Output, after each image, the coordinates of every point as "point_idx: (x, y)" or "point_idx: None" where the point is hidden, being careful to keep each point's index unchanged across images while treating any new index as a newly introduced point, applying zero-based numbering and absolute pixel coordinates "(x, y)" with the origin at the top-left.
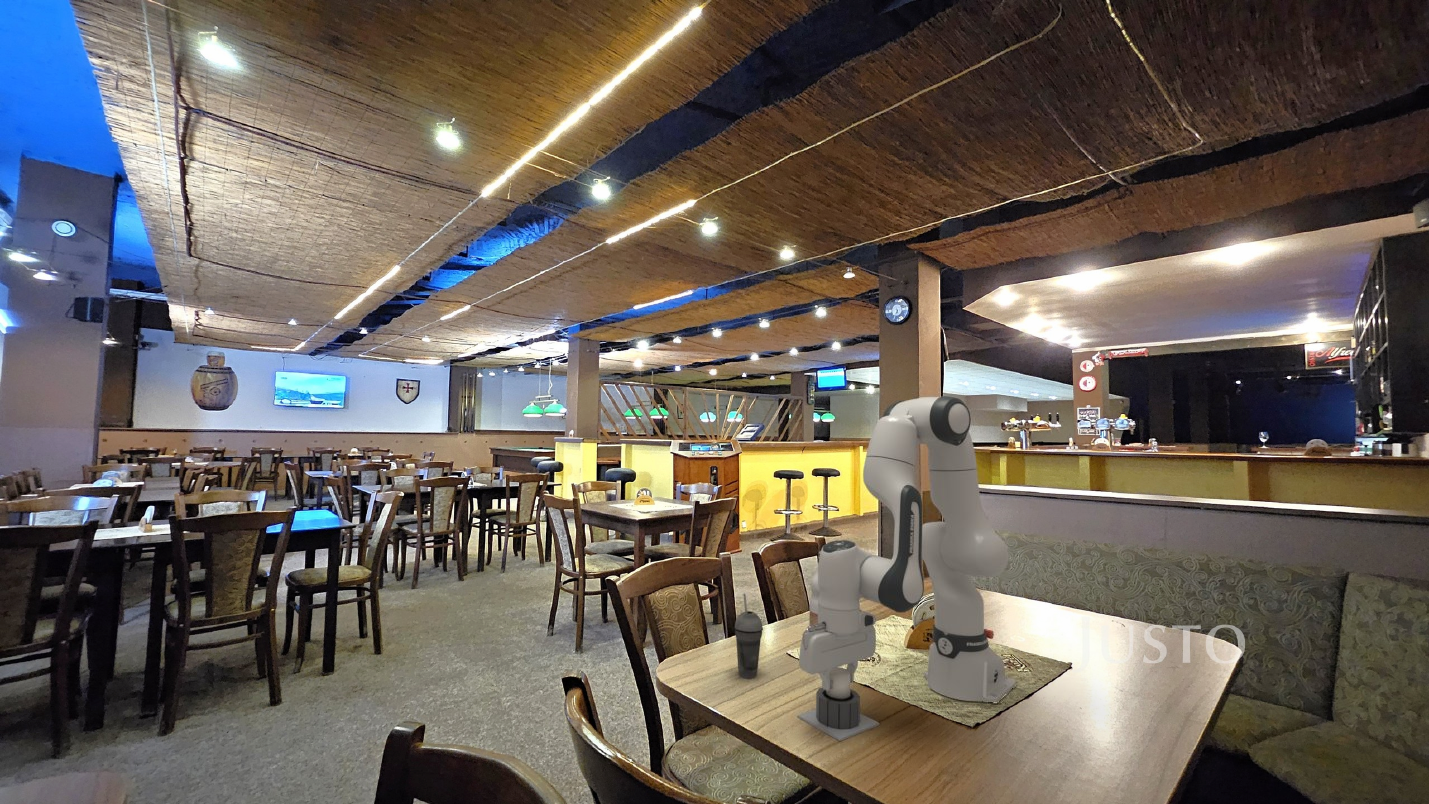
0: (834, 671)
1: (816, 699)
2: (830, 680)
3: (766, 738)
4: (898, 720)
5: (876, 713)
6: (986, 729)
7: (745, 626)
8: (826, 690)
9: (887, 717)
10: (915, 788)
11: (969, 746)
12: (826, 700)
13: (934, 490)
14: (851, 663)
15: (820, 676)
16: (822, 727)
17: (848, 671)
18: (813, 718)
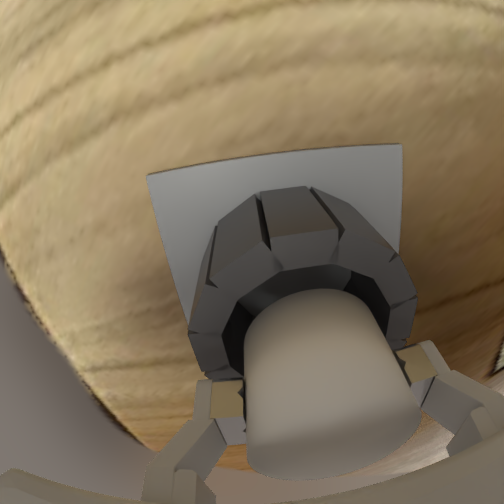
0: (317, 445)
1: (207, 267)
2: (241, 436)
3: (10, 263)
4: (443, 325)
5: (441, 274)
6: (495, 381)
7: None
8: (249, 338)
9: (440, 304)
10: (236, 465)
11: (427, 417)
12: (205, 364)
13: None
14: (455, 449)
15: (171, 442)
16: (190, 298)
17: (392, 449)
18: (197, 229)
